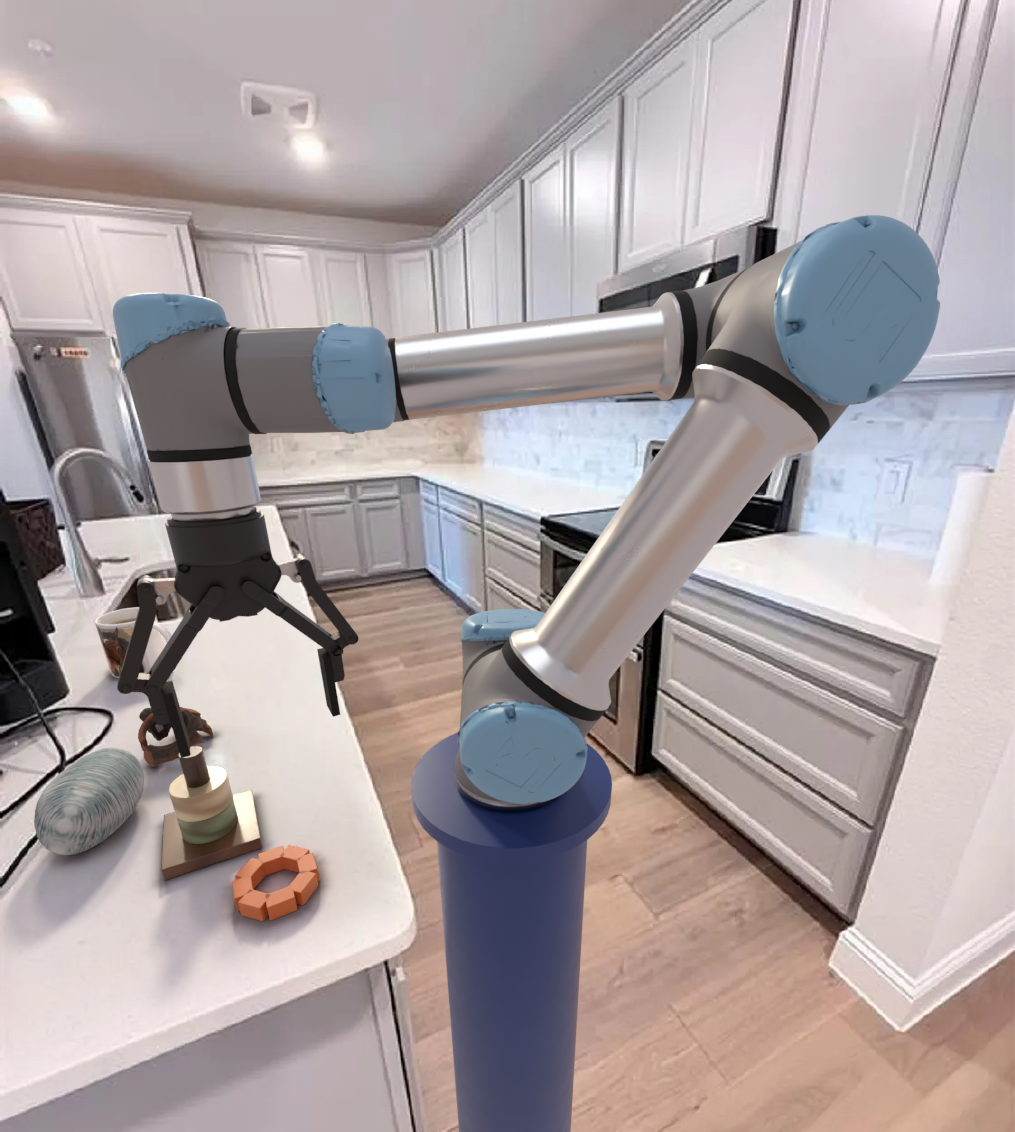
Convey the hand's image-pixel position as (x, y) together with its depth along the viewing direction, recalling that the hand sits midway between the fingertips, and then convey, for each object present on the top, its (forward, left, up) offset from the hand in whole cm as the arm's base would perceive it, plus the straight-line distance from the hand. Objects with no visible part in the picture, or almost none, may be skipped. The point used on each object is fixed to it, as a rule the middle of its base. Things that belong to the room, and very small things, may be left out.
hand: (263, 728), depth 55 cm
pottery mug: (+12, -33, -19) cm, 40 cm away
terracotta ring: (+2, +2, -18) cm, 18 cm away
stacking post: (+8, -10, -18) cm, 22 cm away
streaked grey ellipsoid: (+20, -19, -19) cm, 33 cm away
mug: (+18, -68, -19) cm, 73 cm away
